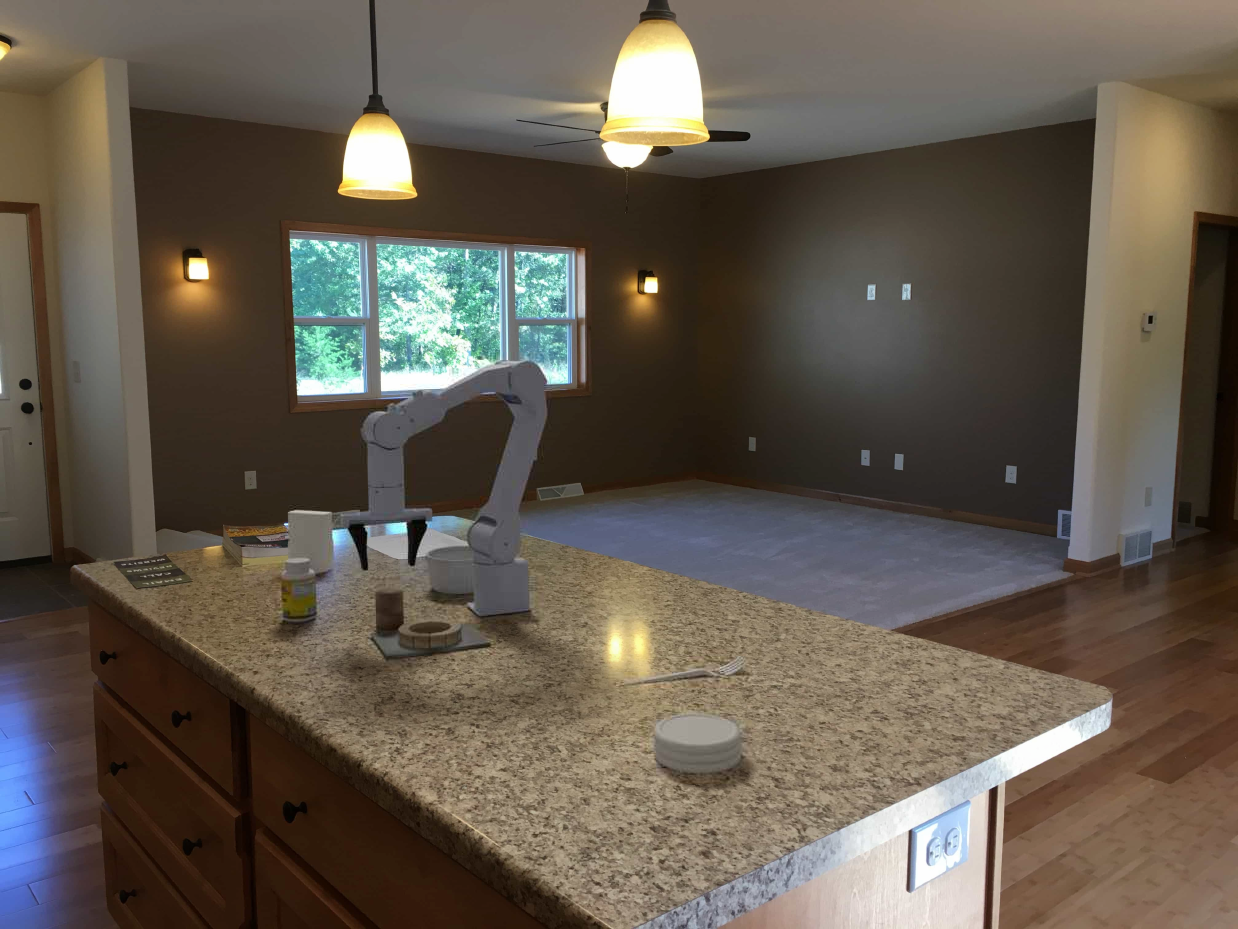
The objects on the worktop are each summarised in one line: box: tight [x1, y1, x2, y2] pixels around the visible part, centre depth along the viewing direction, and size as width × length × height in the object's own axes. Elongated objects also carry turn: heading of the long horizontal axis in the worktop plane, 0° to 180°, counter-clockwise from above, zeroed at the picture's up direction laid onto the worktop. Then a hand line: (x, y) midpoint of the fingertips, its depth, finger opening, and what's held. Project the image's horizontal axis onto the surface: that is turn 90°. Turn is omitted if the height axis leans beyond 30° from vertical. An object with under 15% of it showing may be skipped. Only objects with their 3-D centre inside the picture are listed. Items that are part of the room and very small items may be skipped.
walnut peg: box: [374, 587, 405, 632], centre depth 161 cm, size 4×4×6 cm
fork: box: [617, 656, 749, 686], centre depth 137 cm, size 3×20×2 cm, turn 111°
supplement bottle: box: [280, 558, 318, 623], centre depth 165 cm, size 6×6×10 cm
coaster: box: [652, 713, 743, 775], centre depth 111 cm, size 10×10×4 cm
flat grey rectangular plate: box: [370, 618, 492, 660], centre depth 153 cm, size 16×12×2 cm
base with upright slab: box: [287, 509, 335, 574], centre depth 202 cm, size 9×9×12 cm
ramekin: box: [425, 545, 474, 595], centre depth 188 cm, size 13×13×7 cm
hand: (388, 567), depth 160 cm, fingers open, 7 cm apart
